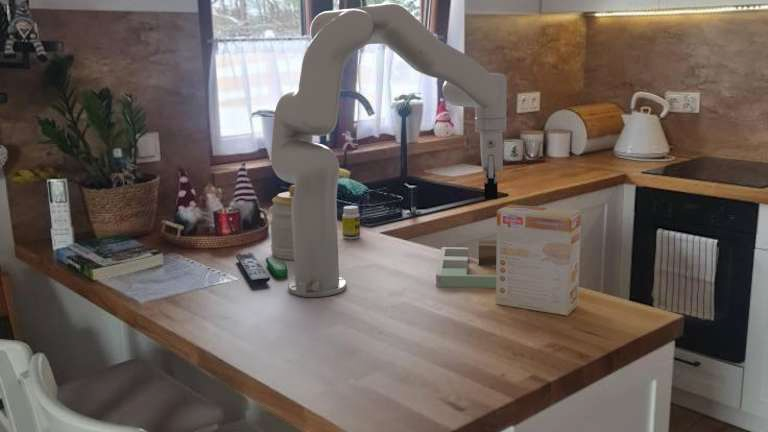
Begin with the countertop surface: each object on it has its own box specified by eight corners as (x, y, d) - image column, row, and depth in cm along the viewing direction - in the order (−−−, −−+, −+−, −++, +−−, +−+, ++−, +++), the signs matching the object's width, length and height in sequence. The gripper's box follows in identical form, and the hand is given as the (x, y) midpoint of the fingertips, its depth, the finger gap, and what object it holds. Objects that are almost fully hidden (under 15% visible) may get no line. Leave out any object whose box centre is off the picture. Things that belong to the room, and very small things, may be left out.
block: (499, 266, 178) (500, 245, 177) (478, 265, 179) (478, 245, 178) (499, 260, 183) (499, 240, 182) (478, 259, 184) (478, 239, 182)
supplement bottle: (357, 239, 204) (357, 209, 202) (340, 239, 205) (339, 208, 203) (362, 235, 209) (361, 205, 207) (345, 234, 210) (344, 204, 208)
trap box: (518, 288, 162) (518, 277, 161) (436, 286, 164) (436, 275, 163) (514, 258, 184) (514, 248, 183) (441, 256, 186) (441, 247, 186)
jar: (263, 259, 187) (259, 189, 183) (282, 245, 199) (279, 179, 195) (313, 262, 184) (310, 190, 180) (329, 248, 196) (327, 181, 192)
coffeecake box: (578, 305, 151) (582, 209, 146) (567, 316, 145) (571, 217, 140) (507, 294, 158) (509, 202, 154) (494, 304, 152) (495, 209, 148)
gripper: (507, 128, 177) (507, 205, 181) (505, 120, 191) (505, 192, 195) (474, 129, 178) (475, 205, 182) (475, 121, 192) (475, 192, 196)
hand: (490, 198), depth 189 cm, fingers closed
